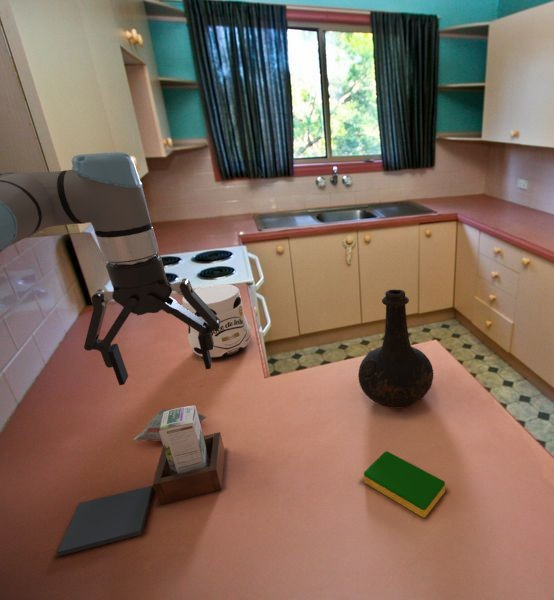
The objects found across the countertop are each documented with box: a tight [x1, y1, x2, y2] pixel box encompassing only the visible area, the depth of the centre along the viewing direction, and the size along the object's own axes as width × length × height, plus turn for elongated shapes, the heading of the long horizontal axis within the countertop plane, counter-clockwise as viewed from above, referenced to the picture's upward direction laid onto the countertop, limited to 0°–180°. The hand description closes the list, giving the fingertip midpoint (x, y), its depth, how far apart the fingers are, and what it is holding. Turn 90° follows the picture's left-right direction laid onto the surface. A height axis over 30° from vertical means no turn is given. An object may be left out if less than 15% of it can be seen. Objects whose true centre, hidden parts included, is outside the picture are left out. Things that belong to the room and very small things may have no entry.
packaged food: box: [133, 408, 206, 442], centre depth 93 cm, size 9×12×5 cm
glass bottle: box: [357, 289, 434, 409], centre depth 99 cm, size 18×18×28 cm
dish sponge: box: [363, 451, 446, 518], centre depth 79 cm, size 7×14×2 cm, turn 54°
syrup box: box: [159, 405, 211, 475], centre depth 80 cm, size 6×6×14 cm
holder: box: [152, 432, 226, 505], centre depth 82 cm, size 11×11×5 cm
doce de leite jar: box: [181, 283, 252, 359], centre depth 126 cm, size 17×17×18 cm
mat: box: [56, 485, 155, 557], centre depth 74 cm, size 12×10×1 cm
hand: (167, 373), depth 75 cm, fingers open, 13 cm apart
